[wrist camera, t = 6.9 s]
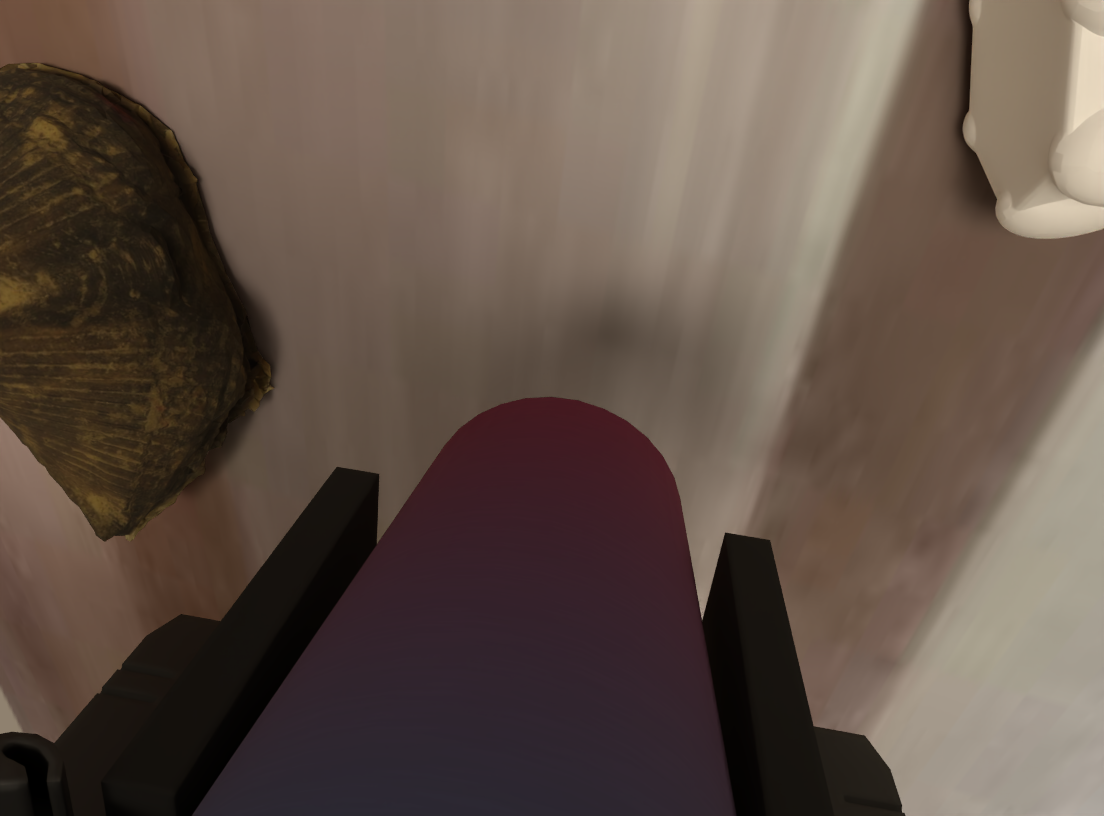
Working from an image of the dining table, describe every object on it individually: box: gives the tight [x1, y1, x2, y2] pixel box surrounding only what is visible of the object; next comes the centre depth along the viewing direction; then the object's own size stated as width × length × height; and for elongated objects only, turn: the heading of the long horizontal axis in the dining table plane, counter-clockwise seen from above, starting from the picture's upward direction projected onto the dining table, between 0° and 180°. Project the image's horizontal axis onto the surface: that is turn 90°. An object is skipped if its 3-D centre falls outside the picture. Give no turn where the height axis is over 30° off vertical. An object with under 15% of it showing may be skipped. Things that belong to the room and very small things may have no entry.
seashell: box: [0, 63, 274, 541], centre depth 27 cm, size 16×9×7 cm, turn 14°
